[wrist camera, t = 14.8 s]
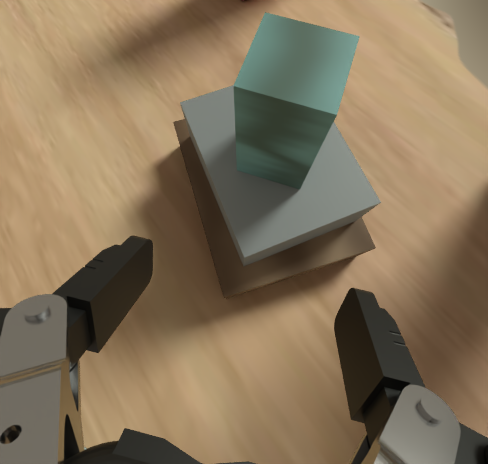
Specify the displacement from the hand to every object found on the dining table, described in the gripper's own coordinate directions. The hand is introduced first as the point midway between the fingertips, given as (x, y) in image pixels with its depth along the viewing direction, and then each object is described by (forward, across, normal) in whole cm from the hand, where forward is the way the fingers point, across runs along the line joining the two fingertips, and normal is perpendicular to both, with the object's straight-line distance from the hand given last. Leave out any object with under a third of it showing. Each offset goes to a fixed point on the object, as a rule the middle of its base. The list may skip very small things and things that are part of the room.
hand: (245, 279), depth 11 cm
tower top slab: (+16, 0, 0) cm, 16 cm away
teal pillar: (+13, 0, -2) cm, 13 cm away
